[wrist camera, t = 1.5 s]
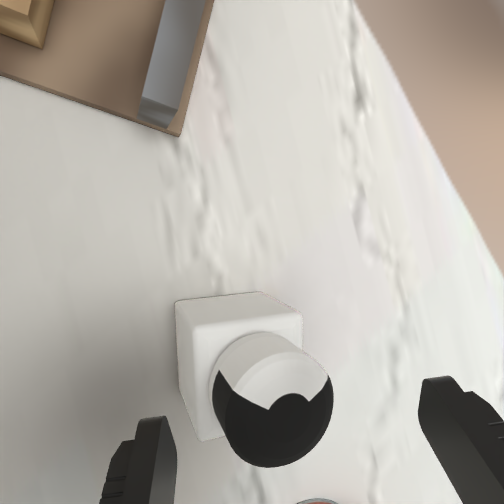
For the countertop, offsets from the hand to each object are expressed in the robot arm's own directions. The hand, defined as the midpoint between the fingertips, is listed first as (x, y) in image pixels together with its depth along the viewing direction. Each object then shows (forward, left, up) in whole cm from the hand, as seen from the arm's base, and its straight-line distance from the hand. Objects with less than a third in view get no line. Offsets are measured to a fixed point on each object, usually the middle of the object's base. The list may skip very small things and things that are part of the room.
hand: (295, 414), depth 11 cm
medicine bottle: (+3, -3, -18) cm, 18 cm away
